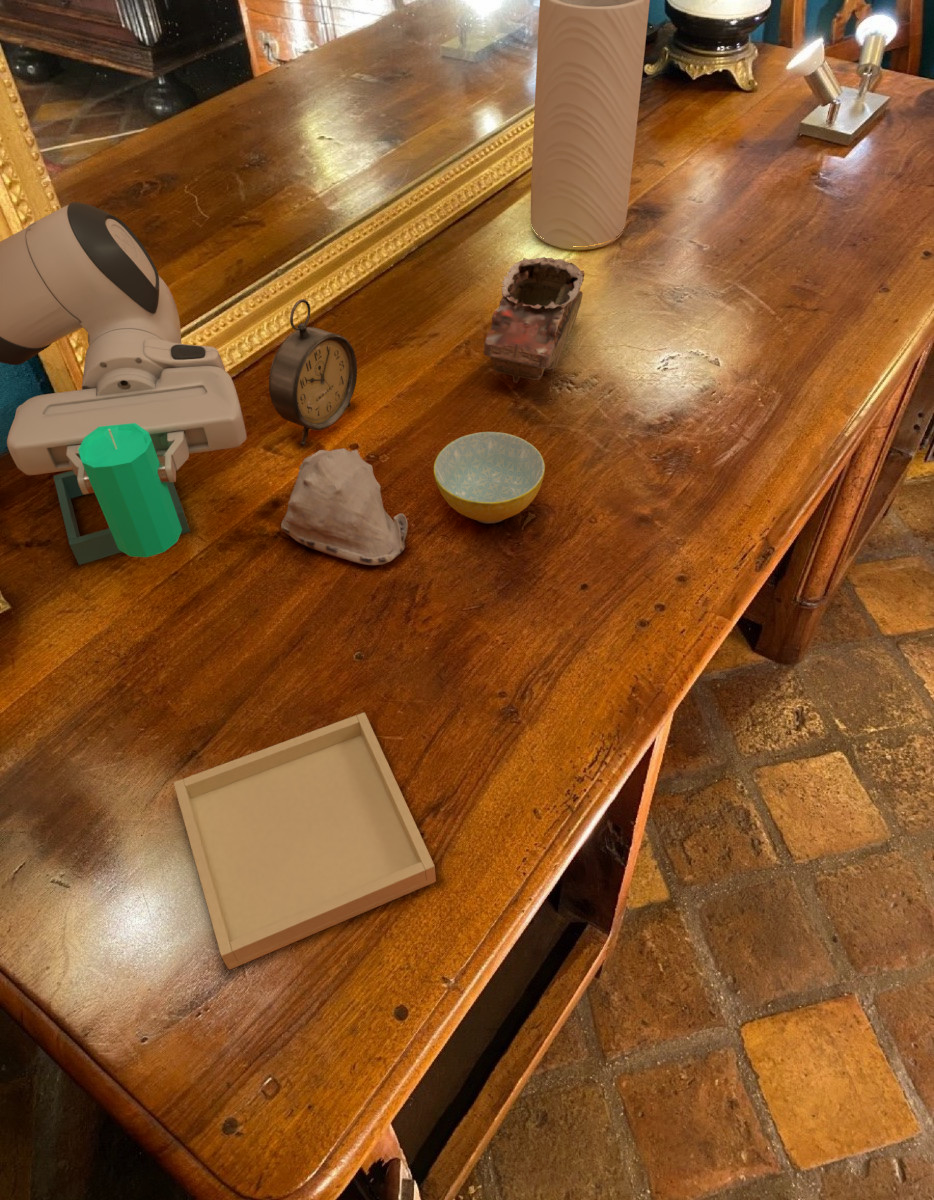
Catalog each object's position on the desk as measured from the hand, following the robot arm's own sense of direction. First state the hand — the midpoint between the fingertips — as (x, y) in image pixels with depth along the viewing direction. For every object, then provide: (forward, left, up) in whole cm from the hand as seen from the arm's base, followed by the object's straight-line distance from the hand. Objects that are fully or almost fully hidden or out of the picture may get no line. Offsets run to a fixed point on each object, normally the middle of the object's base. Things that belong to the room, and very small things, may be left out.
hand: (127, 482), depth 80 cm
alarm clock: (+22, +22, -17) cm, 36 cm away
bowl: (+34, 0, -17) cm, 38 cm away
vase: (+72, +50, -17) cm, 90 cm away
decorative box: (+52, +22, -17) cm, 59 cm away
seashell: (+20, +4, -17) cm, 27 cm away
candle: (0, +1, -7) cm, 7 cm away
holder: (-2, +16, -17) cm, 24 cm away
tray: (+4, -29, -17) cm, 33 cm away
